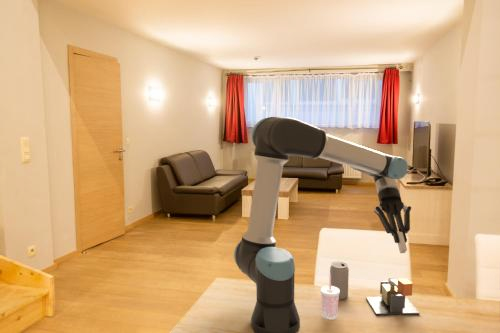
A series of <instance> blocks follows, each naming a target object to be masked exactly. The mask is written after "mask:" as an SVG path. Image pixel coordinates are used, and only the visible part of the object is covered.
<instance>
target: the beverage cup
mask: <svg viewBox="0 0 500 333" xmlns="http://www.w3.org/2000/svg"><path fill="white" fill-rule="evenodd" d="M320 293H321V308H322V309H321V310H322V317H323V318H324V319H326V320H330V321H331V320H336V319H337V318H338V309H339V308H338V307H339V294H340V290H339V288H337V287H335V286H331V275H330V274H329V285H323V286H322V287H321V288H320Z"/></svg>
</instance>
